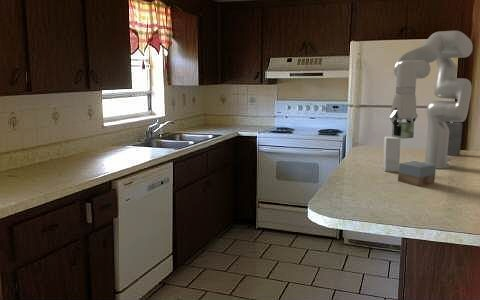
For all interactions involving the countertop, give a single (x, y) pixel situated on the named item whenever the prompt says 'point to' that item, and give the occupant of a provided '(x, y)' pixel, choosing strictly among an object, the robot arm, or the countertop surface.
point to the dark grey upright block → (454, 138)
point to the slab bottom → (416, 179)
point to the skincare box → (391, 154)
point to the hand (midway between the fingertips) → (402, 134)
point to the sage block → (405, 130)
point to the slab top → (417, 169)
